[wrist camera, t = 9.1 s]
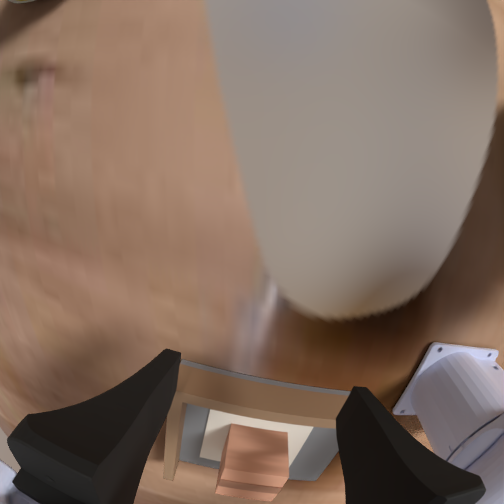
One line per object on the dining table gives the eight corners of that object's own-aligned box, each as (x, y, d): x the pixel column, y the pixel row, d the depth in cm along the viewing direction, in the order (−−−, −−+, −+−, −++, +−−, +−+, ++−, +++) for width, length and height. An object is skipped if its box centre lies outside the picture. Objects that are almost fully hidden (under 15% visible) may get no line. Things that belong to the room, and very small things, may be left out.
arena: (371, 393, 22) (382, 422, 19) (314, 476, 26) (317, 501, 23) (182, 359, 22) (169, 388, 19) (171, 453, 26) (163, 478, 23)
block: (287, 432, 23) (289, 478, 18) (272, 461, 24) (271, 502, 20) (231, 423, 23) (224, 469, 18) (222, 452, 24) (214, 494, 20)
